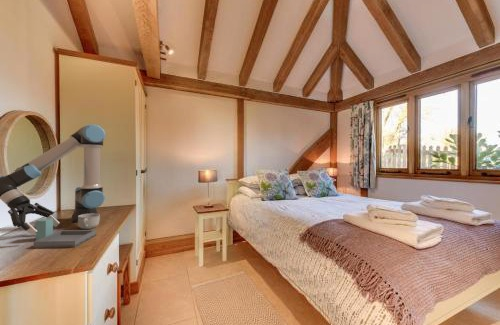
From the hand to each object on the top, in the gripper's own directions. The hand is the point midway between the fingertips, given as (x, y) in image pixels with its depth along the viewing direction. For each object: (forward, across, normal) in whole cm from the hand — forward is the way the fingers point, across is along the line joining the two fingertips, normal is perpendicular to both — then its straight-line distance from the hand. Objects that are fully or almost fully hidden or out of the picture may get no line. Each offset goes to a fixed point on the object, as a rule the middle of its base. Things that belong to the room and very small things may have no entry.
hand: (46, 228), depth 108 cm
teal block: (+3, 0, -5) cm, 5 cm away
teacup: (+11, -16, +3) cm, 20 cm away
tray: (+13, +4, +5) cm, 14 cm away
